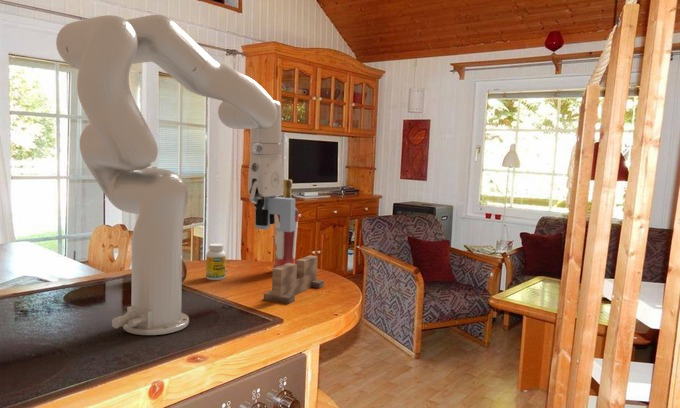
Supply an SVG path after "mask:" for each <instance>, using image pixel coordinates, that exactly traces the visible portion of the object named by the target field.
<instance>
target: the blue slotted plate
mask: <svg viewBox="0 0 680 408" xmlns="http://www.w3.org/2000/svg"><path fill="white" fill-rule="evenodd" d="M259 197H263V195H261V196H259ZM259 200H261V201H262V199H259ZM295 207H296V198H293V197H291V198H283V196H282V197H269V198H267V207H266V210H268V225H267V226H260V225H256V209H255V208H254V229H256V230H269V229H271V224H270V214H274V216H275V215H280V231H284V232H292V231H295Z"/></svg>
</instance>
